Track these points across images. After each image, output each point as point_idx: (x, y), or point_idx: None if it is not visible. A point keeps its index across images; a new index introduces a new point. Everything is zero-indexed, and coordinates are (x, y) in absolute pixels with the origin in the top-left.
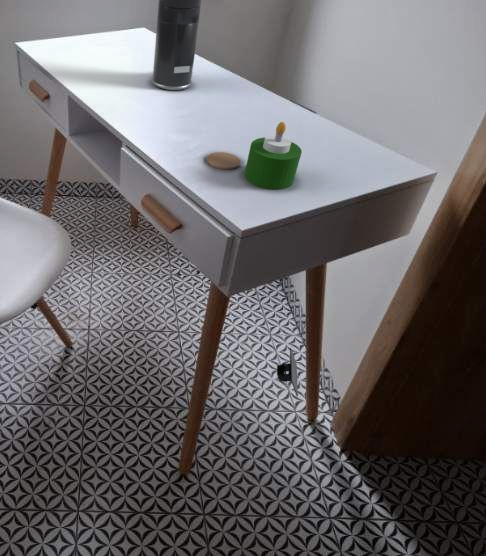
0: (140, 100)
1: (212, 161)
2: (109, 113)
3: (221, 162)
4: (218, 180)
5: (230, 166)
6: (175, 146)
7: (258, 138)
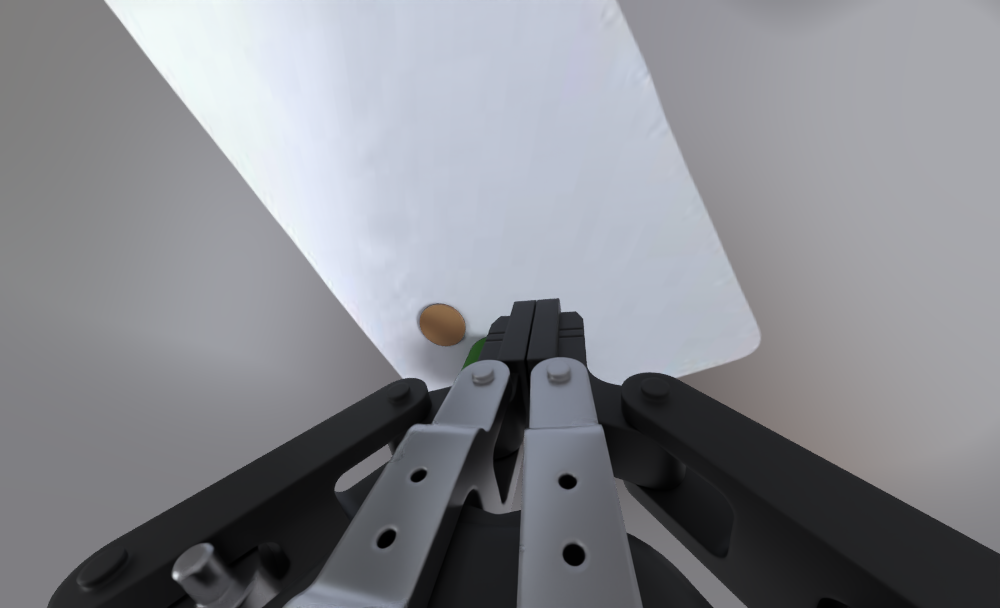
0: (274, 71)
1: (427, 331)
2: (245, 159)
3: (438, 333)
4: (436, 367)
5: (450, 343)
6: (375, 282)
7: (470, 364)
